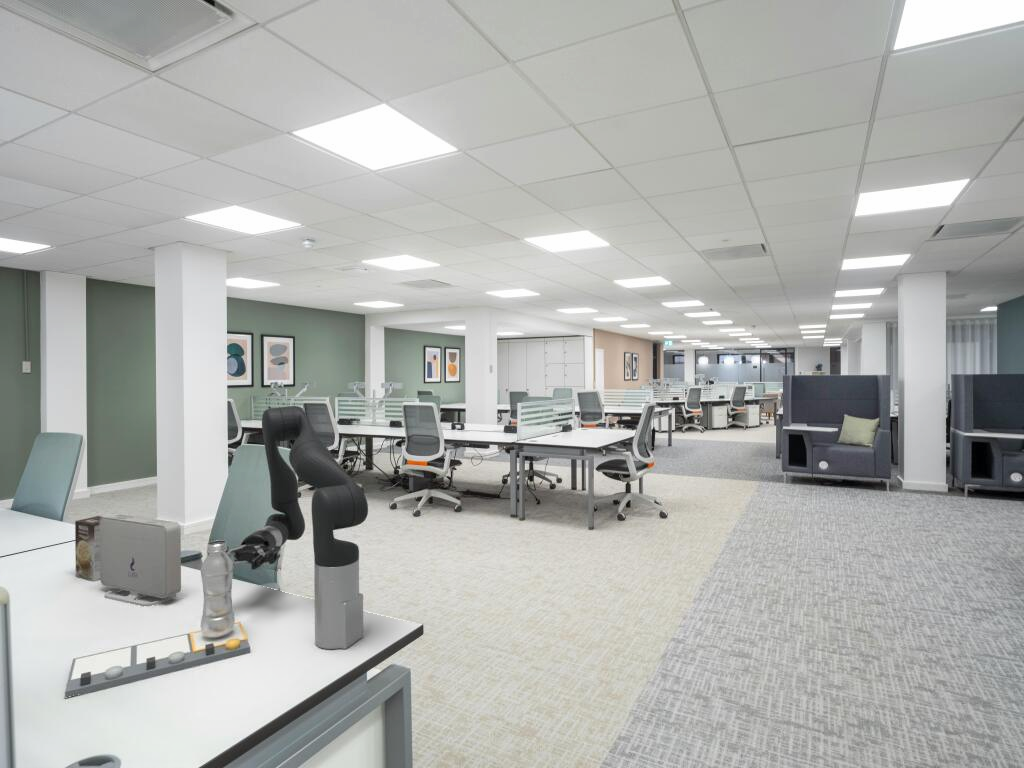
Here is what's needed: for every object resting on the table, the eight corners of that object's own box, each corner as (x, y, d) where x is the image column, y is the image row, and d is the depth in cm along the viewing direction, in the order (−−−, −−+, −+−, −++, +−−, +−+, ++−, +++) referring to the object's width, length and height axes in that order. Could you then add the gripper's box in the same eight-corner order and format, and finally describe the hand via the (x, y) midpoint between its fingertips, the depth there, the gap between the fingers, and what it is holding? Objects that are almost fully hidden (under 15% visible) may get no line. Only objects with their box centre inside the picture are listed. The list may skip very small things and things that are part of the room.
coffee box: (74, 576, 160) (73, 520, 159) (98, 569, 166) (98, 515, 165) (93, 581, 156) (92, 524, 156) (117, 574, 162) (117, 518, 161)
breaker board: (240, 627, 128) (240, 615, 128) (250, 652, 116) (250, 640, 116) (73, 664, 111) (72, 651, 111) (65, 698, 99) (64, 684, 99)
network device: (91, 594, 147) (90, 518, 146) (124, 583, 155) (124, 511, 154) (158, 610, 137) (157, 528, 137) (191, 597, 145) (190, 519, 145)
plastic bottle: (222, 625, 125) (221, 536, 125) (241, 632, 122) (240, 541, 121) (194, 637, 119) (192, 544, 119) (213, 645, 116) (211, 549, 116)
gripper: (233, 529, 144) (201, 549, 128) (290, 529, 144) (265, 548, 128) (234, 559, 144) (202, 582, 128) (290, 558, 145) (266, 581, 128)
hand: (234, 565), depth 128 cm, fingers open, 8 cm apart
